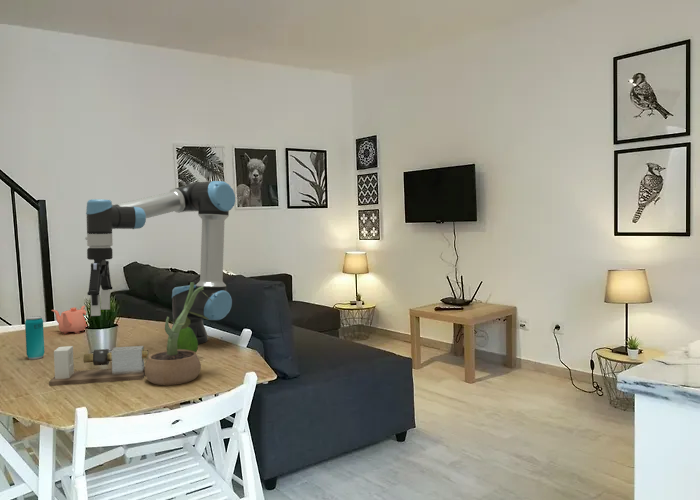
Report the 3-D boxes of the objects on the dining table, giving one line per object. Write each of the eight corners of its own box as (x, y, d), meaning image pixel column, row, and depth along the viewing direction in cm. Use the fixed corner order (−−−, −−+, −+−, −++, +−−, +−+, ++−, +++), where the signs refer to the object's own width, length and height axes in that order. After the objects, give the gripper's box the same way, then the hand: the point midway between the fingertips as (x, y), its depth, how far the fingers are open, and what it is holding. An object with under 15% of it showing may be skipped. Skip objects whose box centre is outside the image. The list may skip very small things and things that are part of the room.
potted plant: (160, 391, 166) (157, 289, 164) (136, 378, 179) (132, 284, 177) (228, 375, 181) (226, 282, 179) (201, 365, 195) (198, 278, 193)
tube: (148, 360, 186) (148, 345, 186) (146, 364, 181) (146, 348, 181) (86, 364, 182) (86, 348, 182) (82, 368, 177) (82, 352, 177)
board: (147, 369, 189) (147, 366, 189) (142, 379, 178) (142, 375, 178) (59, 375, 183) (59, 372, 183) (49, 385, 173) (49, 381, 172)
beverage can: (48, 356, 208) (46, 316, 207) (33, 360, 203) (31, 319, 202) (37, 355, 211) (35, 315, 210) (23, 359, 205) (21, 318, 204)
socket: (74, 376, 182) (72, 346, 181) (69, 382, 176) (67, 350, 175) (60, 377, 181) (59, 346, 180) (55, 383, 175) (53, 351, 175)
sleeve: (144, 368, 186) (143, 345, 185) (142, 372, 181) (141, 349, 181) (115, 370, 184) (114, 347, 184) (112, 374, 179) (111, 350, 179)
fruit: (186, 355, 209) (185, 322, 208) (202, 357, 205) (201, 324, 204) (170, 360, 202) (169, 326, 201) (186, 362, 198) (185, 328, 197)
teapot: (63, 336, 243) (61, 311, 242) (52, 332, 253) (50, 307, 252) (97, 331, 253) (96, 307, 252) (85, 327, 263) (84, 304, 263)
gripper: (96, 245, 195) (97, 307, 196) (76, 248, 171) (77, 318, 172) (119, 245, 197) (120, 306, 197) (103, 248, 172) (104, 318, 173)
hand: (100, 312), depth 185 cm, fingers open, 13 cm apart
